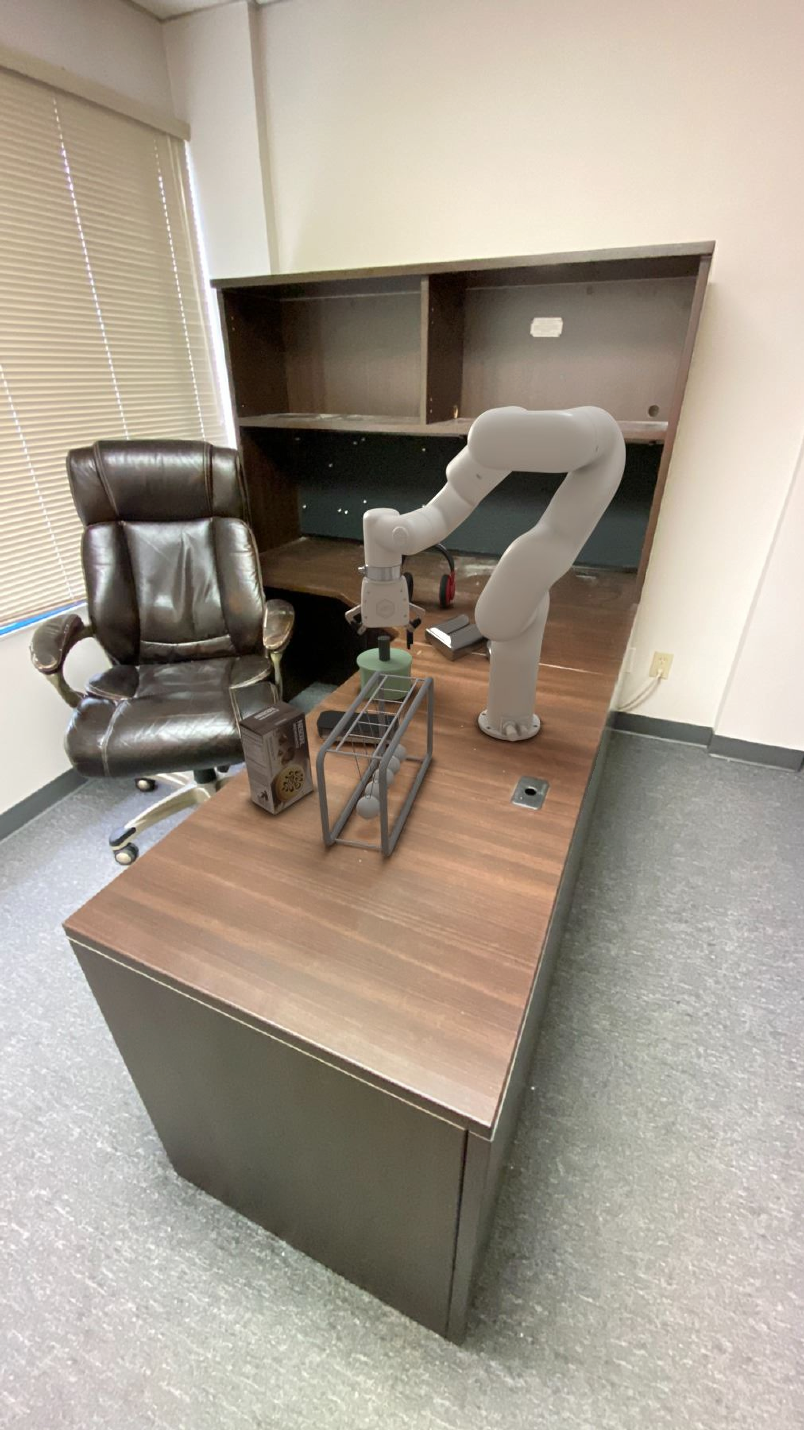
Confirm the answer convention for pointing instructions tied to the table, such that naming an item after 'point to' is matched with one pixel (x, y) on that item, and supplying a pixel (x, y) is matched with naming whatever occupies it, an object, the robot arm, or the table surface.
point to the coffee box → (277, 756)
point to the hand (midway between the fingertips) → (386, 648)
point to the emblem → (457, 637)
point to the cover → (384, 658)
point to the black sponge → (332, 718)
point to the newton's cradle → (387, 766)
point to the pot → (388, 684)
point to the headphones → (446, 581)
